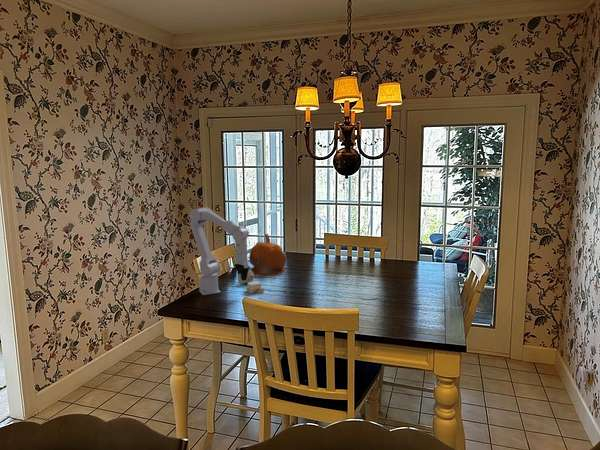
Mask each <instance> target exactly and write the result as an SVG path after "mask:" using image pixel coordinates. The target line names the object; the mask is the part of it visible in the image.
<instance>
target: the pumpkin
mask: <svg viewBox="0 0 600 450" xmlns="http://www.w3.org/2000/svg"><path fill="white" fill-rule="evenodd" d="M264 236H265V238H264V239H265V242H262V241H258V242H256V243H255V244H254V245H253V247H252V248H251V249H250V251H249V257H248V258H249V259H248V260H250V262H249V264H251V265H252V266H253V267H250V269H249V270H252V269H253V270H252V271H253V274H254V276H256V275H257V276H273V275H274V276H275V275H279V274H282V273H284V272H285V271H286V268H285V265H286V262H287V255H285V254H284V251H283V248H282V247H281V245H279V244H276V243H274V242H271V239H270V237H269V234H268V233H265V235H264Z"/></svg>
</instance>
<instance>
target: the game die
mask: <svg viewBox="0 0 600 450" xmlns="http://www.w3.org/2000/svg"><path fill="white" fill-rule="evenodd" d="M252 270H253V269H252ZM252 270H250V269H249V271H248V274H247V282H246V284H248V282H253V281H254V279H255V278H256V275H255V274H253V271H252ZM241 284H244V283H241Z"/></svg>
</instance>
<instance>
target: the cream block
mask: <svg viewBox="0 0 600 450" xmlns="http://www.w3.org/2000/svg"><path fill="white" fill-rule="evenodd" d="M247 287H248V288H249V289H250V290H253V289H260V288H261V287H262V283H261V282H259V281H258V280H255V281H254V280H253V281H252V282H248V283H247Z"/></svg>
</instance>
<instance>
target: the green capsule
mask: <svg viewBox="0 0 600 450" xmlns="http://www.w3.org/2000/svg"><path fill="white" fill-rule="evenodd" d="M237 282H238V283H239V284H242V283H243V284H245V283H246V282H247V279H246V280H244V281H242V279H241V274H240V273H239V274H238V273H237ZM246 284H247V283H246Z"/></svg>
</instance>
